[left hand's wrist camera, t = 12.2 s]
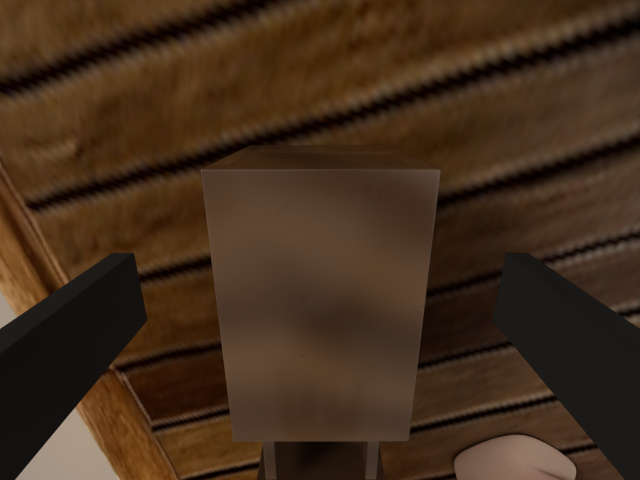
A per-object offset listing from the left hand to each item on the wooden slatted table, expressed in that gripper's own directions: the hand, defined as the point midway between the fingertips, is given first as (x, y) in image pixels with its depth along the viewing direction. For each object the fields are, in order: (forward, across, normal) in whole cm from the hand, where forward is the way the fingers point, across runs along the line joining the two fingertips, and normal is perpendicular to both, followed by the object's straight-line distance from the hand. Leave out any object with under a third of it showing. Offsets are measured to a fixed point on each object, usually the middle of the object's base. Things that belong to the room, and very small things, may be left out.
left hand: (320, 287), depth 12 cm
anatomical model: (+17, +22, -33) cm, 43 cm away
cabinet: (+17, 0, -5) cm, 18 cm away
